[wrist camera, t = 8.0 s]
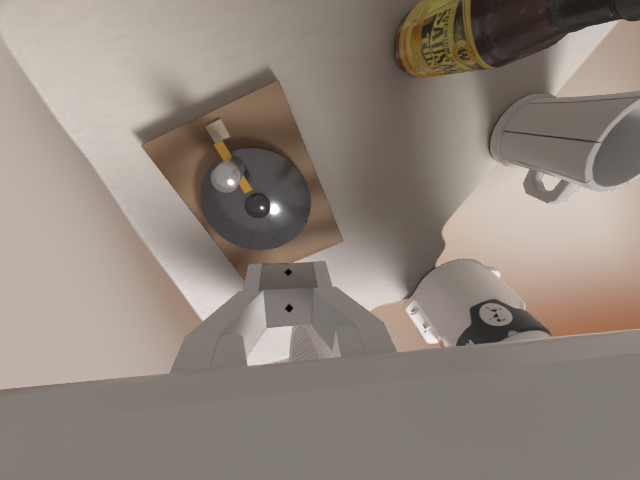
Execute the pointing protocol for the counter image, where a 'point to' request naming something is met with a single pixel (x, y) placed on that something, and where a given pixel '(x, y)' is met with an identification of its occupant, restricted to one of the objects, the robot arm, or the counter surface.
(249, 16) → the counter surface
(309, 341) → the skyscraper
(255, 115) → the stand
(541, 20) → the sauce bottle
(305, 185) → the dial
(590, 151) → the cup
